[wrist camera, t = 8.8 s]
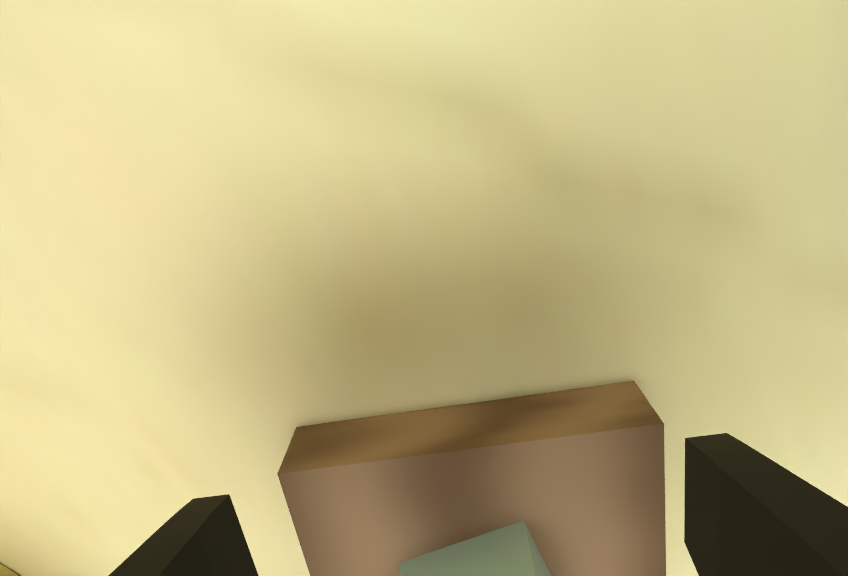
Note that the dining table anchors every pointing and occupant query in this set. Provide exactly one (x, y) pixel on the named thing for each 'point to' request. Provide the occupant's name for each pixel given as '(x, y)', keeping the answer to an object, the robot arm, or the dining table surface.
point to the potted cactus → (6, 571)
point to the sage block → (483, 556)
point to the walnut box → (485, 483)
